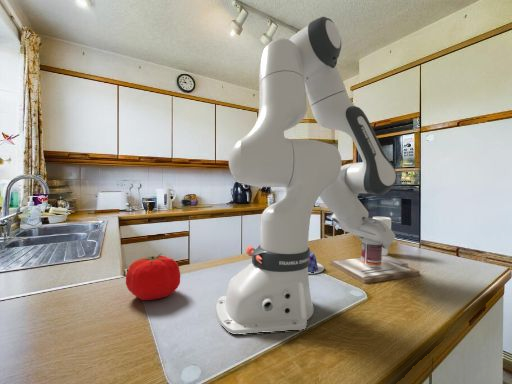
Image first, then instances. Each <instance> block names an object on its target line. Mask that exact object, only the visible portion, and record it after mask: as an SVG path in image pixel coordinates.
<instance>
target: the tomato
mask: <svg viewBox="0 0 512 384" xmlns="http://www.w3.org/2000/svg"><path fill="white" fill-rule="evenodd" d="M162 254H163V253H162V252H161V253H160V254H158V255H156V256H154V255H151V256H147V257H141V258H139V259H136V260H135V261H133V262H132V263H131V264H130V265H129V267H128V269H127V272H126V275H125V285H126V288H127V289H128V291H129V292H130V293H131V294H132V295H134V296H135V297H137V298H138V299H141V300H142V301H148V300H149V301H150V300H157V299H159V300H160V299H163V298H166V297H169V296H170V295H171V294H173V293H174V292H175V291H176V290H177V289H178V287H179V286H180V283H181V271H180V266H179V263H177V262H176V261H175V259H174V258H170V257H167V256H165V255H162Z"/></svg>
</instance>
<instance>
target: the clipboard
mask: <svg viewBox="0 0 512 384" xmlns="http://www.w3.org/2000/svg"><path fill="white" fill-rule="evenodd" d="M329 264H330V266H331V265H332V266H333V267H334V268H336V269H338V270H339V271H341V272H343V273H345V274H347V275H349V276H350V277H352V278H354V279H355V280H358V281H359V282H361V283H363V284H371V283H372V284H373V283H376V282H385V281H389V280H396V279H401V278H409V277H415V276H420V272H421V271H419V270H418V269H414V268H413V267H410V266H409V263H408V262H405V261H403V260H401V259H398V258H395V257H393V256H390V255H386V256H382V260H381V266H380V267H377V268H374V267H368V266H365V265H363V264H362V263H361V257H354V258H346V259H336V260H330V263H329Z"/></svg>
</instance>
